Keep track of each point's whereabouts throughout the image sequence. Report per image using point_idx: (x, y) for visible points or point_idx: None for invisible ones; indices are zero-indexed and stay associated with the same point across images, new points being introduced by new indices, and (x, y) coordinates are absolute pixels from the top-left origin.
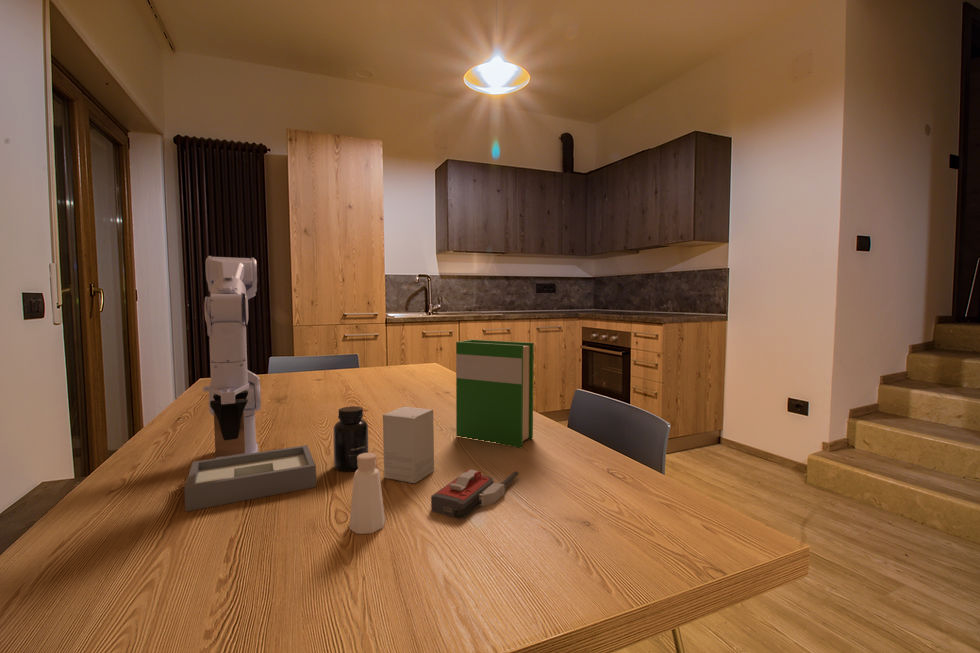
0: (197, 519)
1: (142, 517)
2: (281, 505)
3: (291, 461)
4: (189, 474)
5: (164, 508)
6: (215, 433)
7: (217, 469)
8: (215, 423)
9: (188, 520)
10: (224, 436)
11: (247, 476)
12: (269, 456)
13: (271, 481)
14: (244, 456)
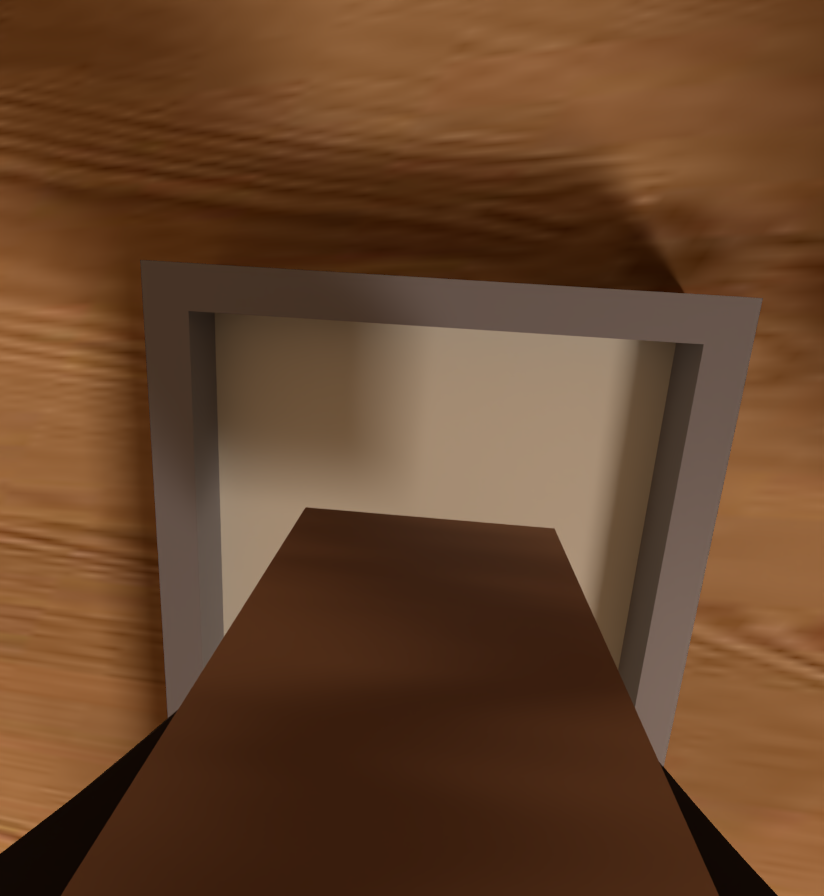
0: (82, 328)
1: (245, 30)
2: (82, 677)
3: None
4: (426, 283)
5: (323, 146)
6: (215, 654)
7: (607, 457)
8: (150, 782)
9: (89, 286)
10: None
11: (175, 631)
12: None
13: None
14: (643, 650)
